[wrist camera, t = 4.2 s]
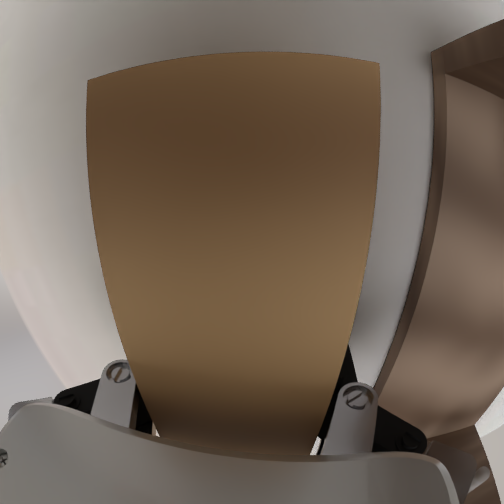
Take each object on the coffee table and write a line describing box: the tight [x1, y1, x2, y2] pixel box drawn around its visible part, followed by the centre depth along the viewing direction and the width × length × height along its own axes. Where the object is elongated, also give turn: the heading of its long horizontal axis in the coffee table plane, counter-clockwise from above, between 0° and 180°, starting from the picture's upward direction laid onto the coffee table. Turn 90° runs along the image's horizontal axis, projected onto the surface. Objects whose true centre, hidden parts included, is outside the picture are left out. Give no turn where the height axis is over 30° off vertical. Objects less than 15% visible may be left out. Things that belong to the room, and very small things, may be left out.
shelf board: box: [86, 52, 381, 455], centre depth 10 cm, size 18×5×6 cm, turn 179°
